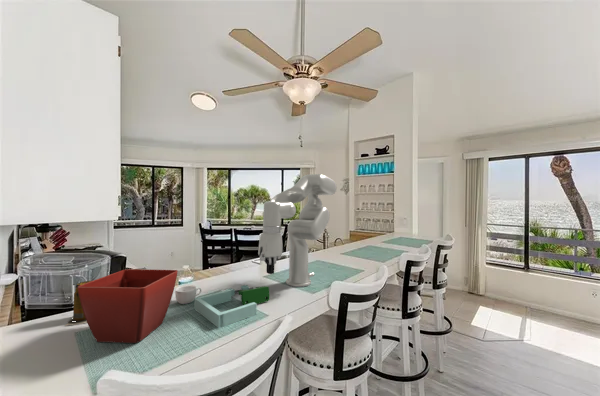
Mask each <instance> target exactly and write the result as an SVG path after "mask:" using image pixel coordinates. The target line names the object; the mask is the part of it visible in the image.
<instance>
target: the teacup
mask: <svg viewBox="0 0 600 396" xmlns="http://www.w3.org/2000/svg"><path fill="white" fill-rule="evenodd" d="M198 290H199V292H198ZM174 291H175V292H174V293H175V300H176V301H177V303H178V304H181V305H187V304H191V303H192V302H193V301H194V298H197V296H198V295H200V294H202V289H201V288H200V287H197V286H196V285H189V284H188V285H182V286H178V287H175V288H174ZM197 292H198V293H197Z"/></svg>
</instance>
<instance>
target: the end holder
mask: <svg viewBox="0 0 600 396" xmlns="http://www.w3.org/2000/svg"><path fill="white" fill-rule="evenodd" d="M193 301H194V302H193V303H194V305H193V306H194V307H193V310H195V311H196V312H197V313H199V314H200V315H201V316H203V317H204V318H205V319H206V320H208V321H209V323H212V324H213V325H214V326H216V327H217V328H218V329H220V328H222V327H225V326H228V325H229V326H230V325H231V324H234V323H236V322H239V321H242V320H244V319H248V318H250V317H254V316H257V305H258V304H257V303H255V302H253V303H250V304H247V305H240V306H238V307H234V308H231V309H228V310H224V311H220V310H218V309H217V308H215V307H214V306H217V305H220V304H223V303H227V302H229V301H230V302H231V301H232V296H231V290H226V289H225V290H222V291H217V292H213V293H211V294H207V295H203V296H199V297H195V298H194V300H193Z"/></svg>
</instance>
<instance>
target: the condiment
mask: <svg viewBox="0 0 600 396" xmlns="http://www.w3.org/2000/svg"><path fill="white" fill-rule="evenodd" d="M91 281H92V280H86V281H81V282H78V283H76V284H75V292H74V293H73V313H72V314H73V316H72V317H73V319H72V318H71V319H69V321H67V323H66V324H65V325H64V326H66V327H67V326H76V325H77V326H78V325H83V324H88V323H87V321H86V318H85V315H84V313H83V309H82V306H81V302H80V297H79V292H78V286H80V285H82V284H85V283H88V282H91ZM72 321H76V322H72Z"/></svg>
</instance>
